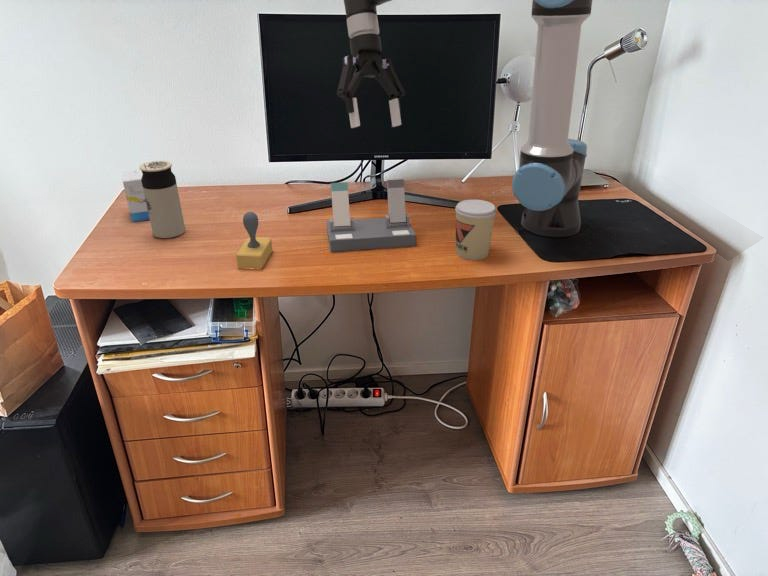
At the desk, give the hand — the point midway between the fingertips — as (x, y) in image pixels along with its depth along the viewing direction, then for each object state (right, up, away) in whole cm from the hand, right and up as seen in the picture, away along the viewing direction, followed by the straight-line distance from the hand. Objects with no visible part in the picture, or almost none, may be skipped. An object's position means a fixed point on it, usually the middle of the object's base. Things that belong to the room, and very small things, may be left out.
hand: (376, 126), depth 140 cm
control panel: (-2, -28, +3) cm, 28 cm away
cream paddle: (-9, -24, 0) cm, 26 cm away
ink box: (-64, -20, +18) cm, 69 cm away
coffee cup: (+23, -32, -4) cm, 39 cm away
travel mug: (-54, -26, +7) cm, 60 cm away
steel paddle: (+5, -23, +2) cm, 24 cm away
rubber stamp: (-29, -34, -7) cm, 45 cm away
